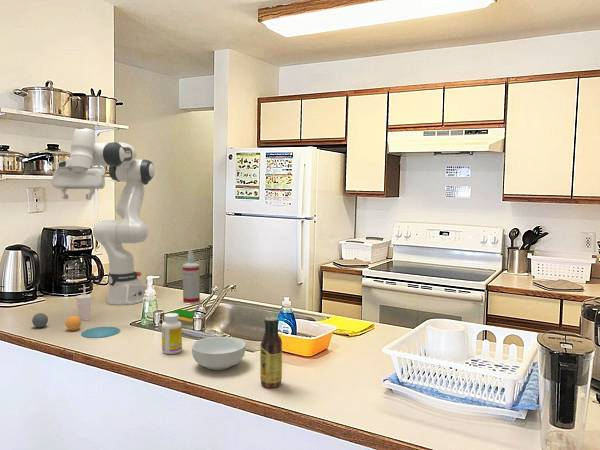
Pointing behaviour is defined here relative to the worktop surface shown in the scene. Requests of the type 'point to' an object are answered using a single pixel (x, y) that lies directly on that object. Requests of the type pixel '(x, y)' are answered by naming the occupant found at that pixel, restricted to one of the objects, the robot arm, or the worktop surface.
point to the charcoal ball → (40, 320)
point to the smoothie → (84, 305)
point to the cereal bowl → (218, 352)
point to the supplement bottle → (171, 334)
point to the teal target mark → (100, 332)
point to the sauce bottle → (271, 354)
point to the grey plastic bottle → (191, 280)
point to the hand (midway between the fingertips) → (76, 199)
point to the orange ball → (73, 323)
